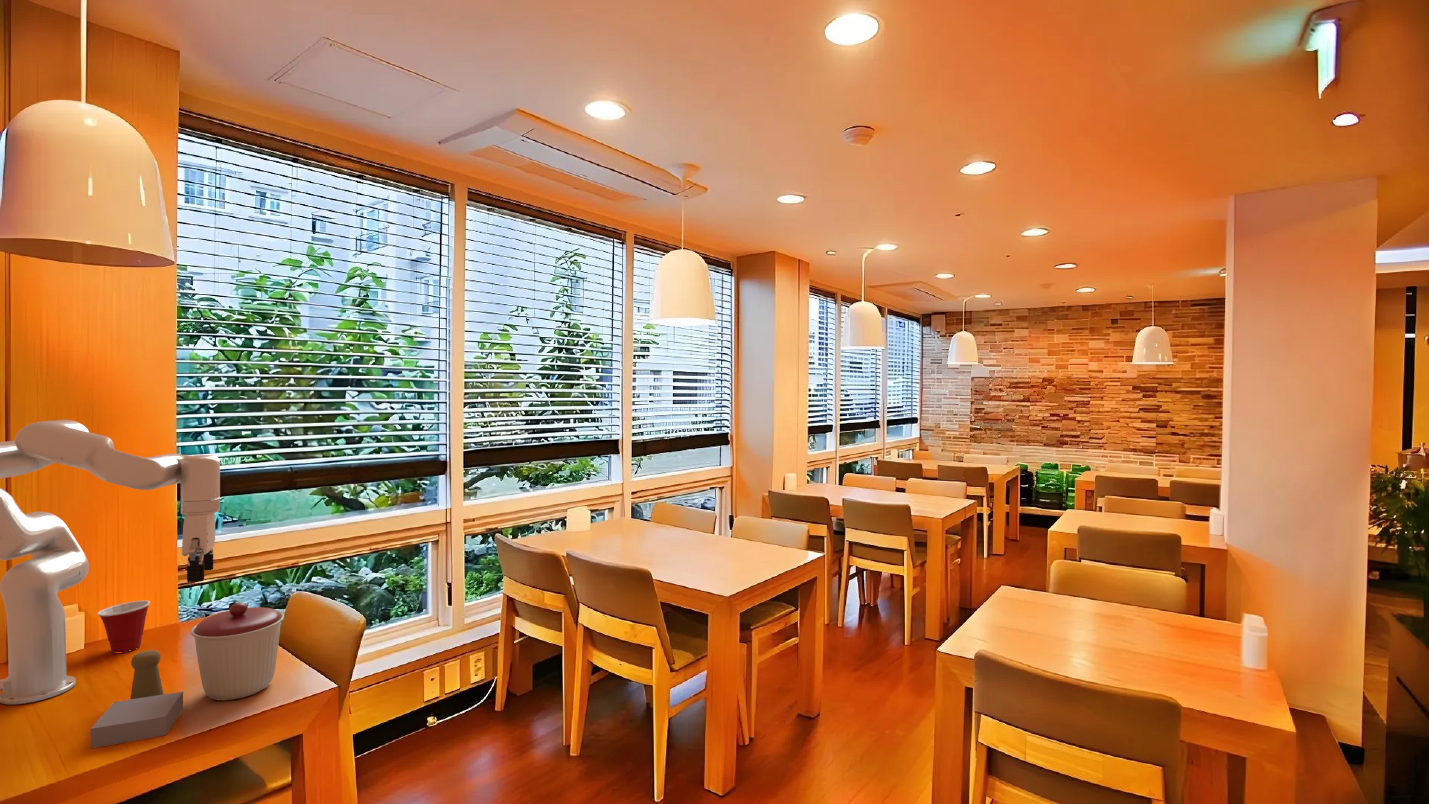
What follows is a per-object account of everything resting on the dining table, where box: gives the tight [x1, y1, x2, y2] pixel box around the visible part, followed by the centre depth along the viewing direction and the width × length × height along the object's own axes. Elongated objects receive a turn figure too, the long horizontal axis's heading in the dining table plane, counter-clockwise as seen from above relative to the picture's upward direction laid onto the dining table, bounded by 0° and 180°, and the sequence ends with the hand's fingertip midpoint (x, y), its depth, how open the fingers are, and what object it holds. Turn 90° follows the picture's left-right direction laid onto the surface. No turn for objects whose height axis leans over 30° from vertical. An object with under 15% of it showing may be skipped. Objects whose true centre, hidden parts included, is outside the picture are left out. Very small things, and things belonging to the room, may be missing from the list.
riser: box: [90, 691, 184, 749], centre depth 141 cm, size 12×12×4 cm
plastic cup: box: [97, 600, 151, 653], centre depth 180 cm, size 11×11×12 cm
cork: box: [129, 649, 164, 700], centre depth 153 cm, size 6×6×11 cm
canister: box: [190, 602, 285, 701], centre depth 158 cm, size 18×18×21 cm
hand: (200, 575), depth 162 cm, fingers open, 9 cm apart
